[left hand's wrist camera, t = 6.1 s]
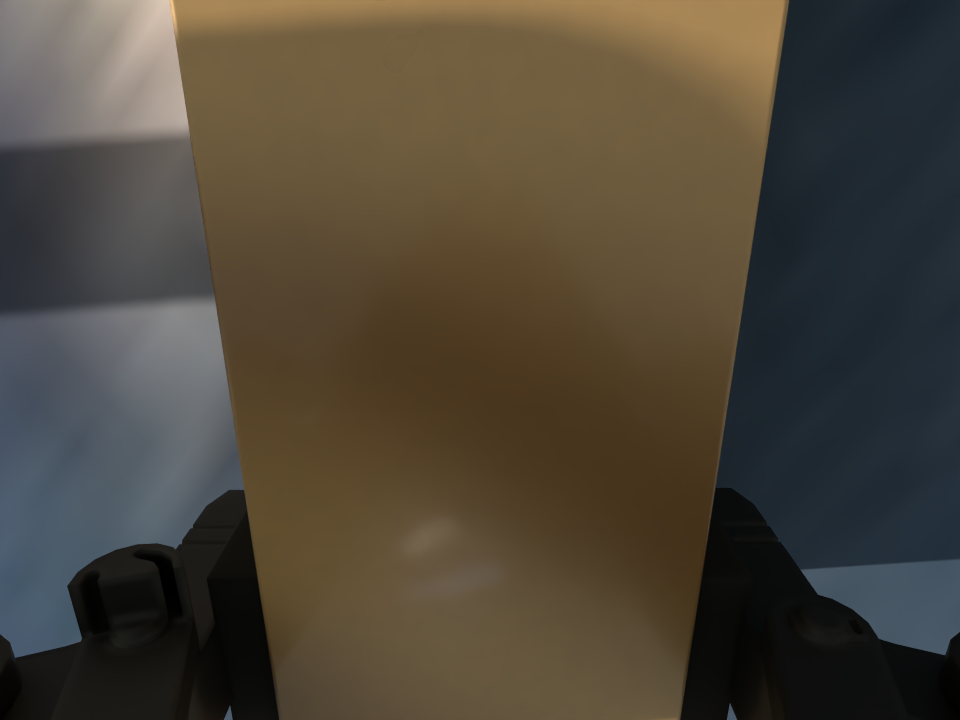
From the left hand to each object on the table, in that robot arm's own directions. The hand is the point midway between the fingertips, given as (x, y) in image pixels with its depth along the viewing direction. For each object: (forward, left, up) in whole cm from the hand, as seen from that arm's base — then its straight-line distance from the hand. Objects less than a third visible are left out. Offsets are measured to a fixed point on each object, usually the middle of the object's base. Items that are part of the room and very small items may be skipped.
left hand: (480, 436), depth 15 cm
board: (+20, +15, -1) cm, 25 cm away
